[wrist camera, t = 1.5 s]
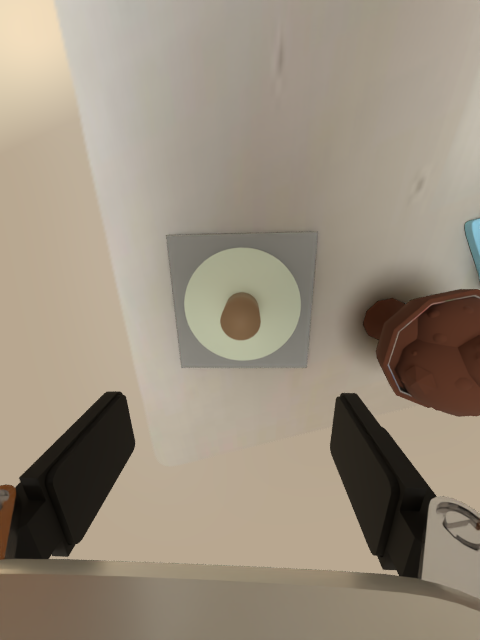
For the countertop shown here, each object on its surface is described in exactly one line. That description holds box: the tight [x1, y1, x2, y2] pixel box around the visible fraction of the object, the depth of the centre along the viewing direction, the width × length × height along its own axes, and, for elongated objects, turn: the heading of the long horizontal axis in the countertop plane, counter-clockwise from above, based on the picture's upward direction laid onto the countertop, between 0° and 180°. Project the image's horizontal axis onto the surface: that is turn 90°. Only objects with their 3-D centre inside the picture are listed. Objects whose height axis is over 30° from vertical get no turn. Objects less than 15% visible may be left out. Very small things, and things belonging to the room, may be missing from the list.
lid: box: [184, 247, 301, 361], centre depth 25 cm, size 14×14×6 cm
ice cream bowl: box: [363, 289, 480, 416], centre depth 21 cm, size 11×11×15 cm
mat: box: [166, 231, 318, 368], centre depth 28 cm, size 17×17×1 cm
